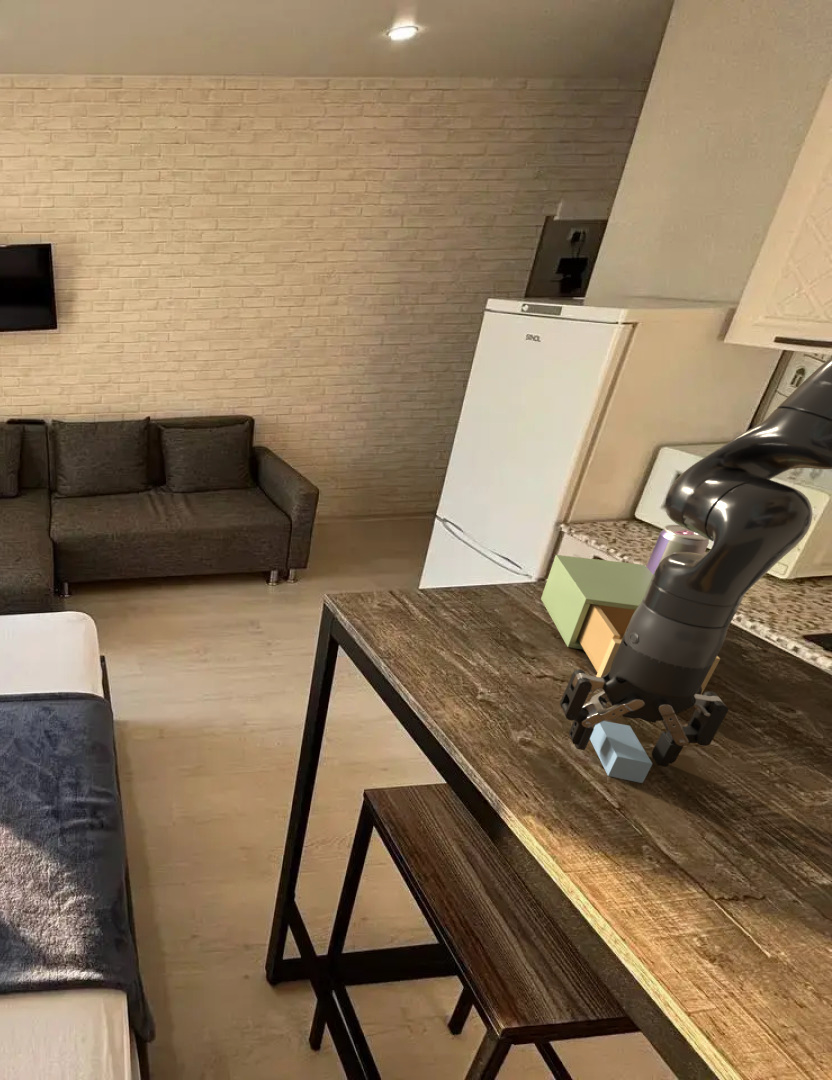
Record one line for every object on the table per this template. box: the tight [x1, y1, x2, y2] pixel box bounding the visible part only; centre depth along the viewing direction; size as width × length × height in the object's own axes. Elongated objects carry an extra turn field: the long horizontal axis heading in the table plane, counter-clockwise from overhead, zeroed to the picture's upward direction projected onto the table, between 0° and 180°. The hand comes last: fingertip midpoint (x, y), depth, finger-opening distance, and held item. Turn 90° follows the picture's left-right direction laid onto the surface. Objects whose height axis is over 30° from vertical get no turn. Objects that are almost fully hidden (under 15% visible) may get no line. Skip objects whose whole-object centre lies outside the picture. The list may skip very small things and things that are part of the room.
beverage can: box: [645, 524, 710, 575], centre depth 98 cm, size 6×6×15 cm
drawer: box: [577, 604, 721, 695], centre depth 83 cm, size 19×11×7 cm, turn 159°
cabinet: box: [540, 554, 653, 651], centre depth 95 cm, size 16×13×9 cm
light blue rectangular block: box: [589, 720, 653, 784], centre depth 71 cm, size 3×6×3 cm, turn 159°
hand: (616, 752), depth 71 cm, fingers open, 7 cm apart
